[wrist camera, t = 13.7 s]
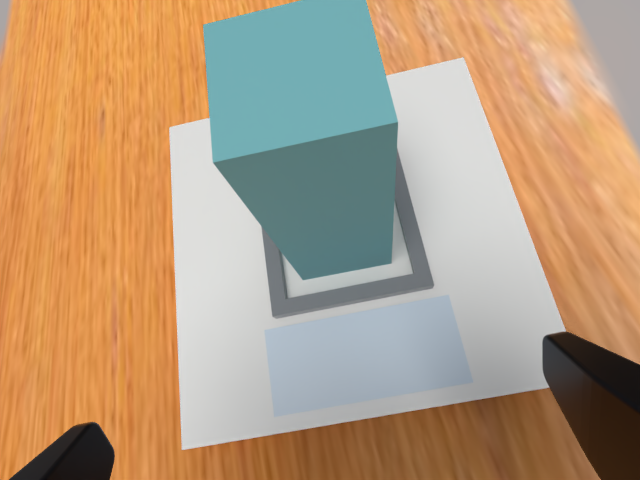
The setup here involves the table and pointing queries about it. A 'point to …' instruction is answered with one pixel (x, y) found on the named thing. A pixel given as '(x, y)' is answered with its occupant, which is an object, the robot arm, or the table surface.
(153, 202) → the table surface
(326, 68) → the column
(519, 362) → the board
